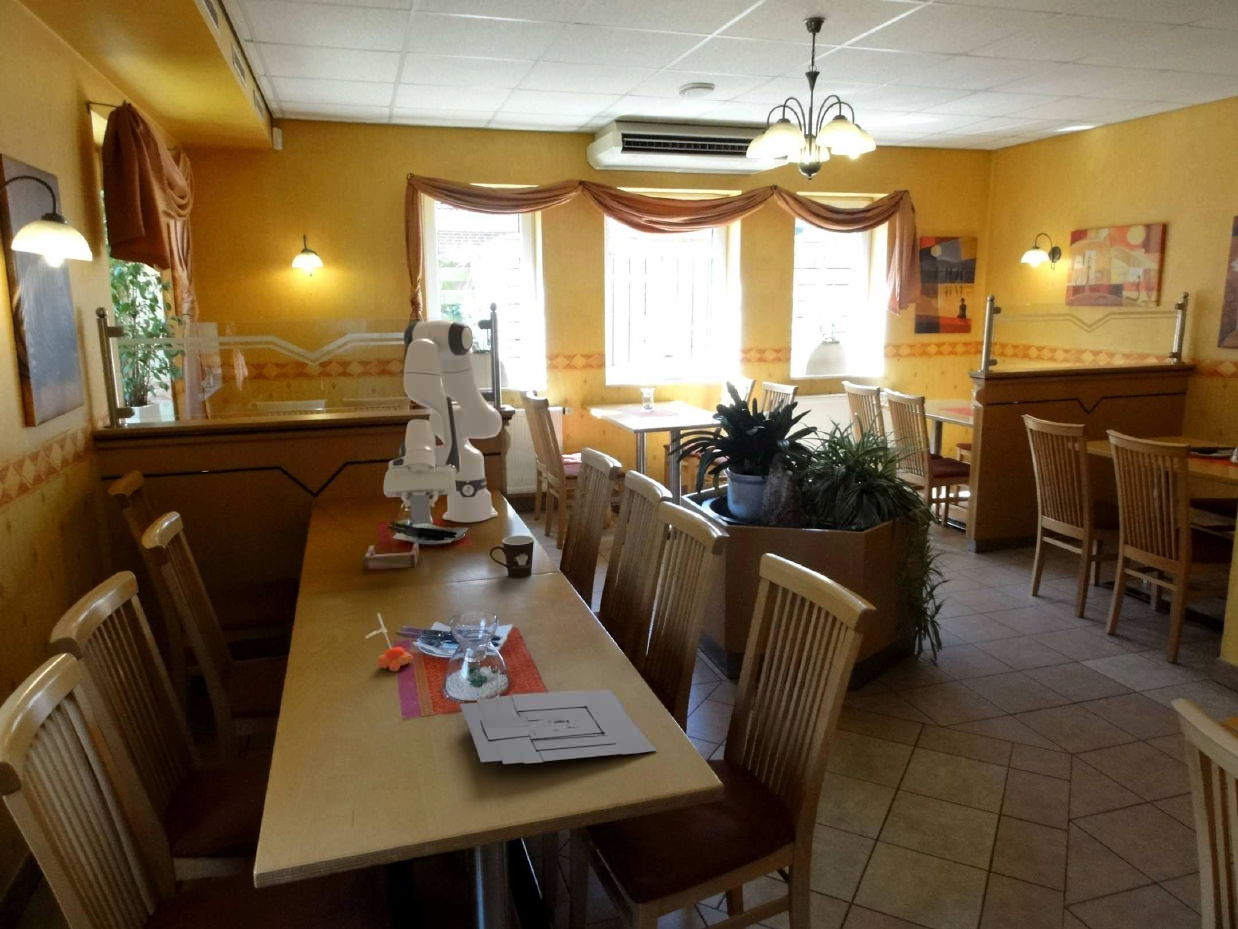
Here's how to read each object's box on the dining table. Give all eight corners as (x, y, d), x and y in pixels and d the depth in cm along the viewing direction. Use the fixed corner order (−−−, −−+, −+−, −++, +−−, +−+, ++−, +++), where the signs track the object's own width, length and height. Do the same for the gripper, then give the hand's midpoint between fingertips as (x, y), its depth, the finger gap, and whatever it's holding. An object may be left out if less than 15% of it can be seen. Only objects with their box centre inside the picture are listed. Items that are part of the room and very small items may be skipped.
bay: (371, 556, 250) (370, 545, 249) (419, 554, 252) (418, 542, 251) (364, 569, 238) (364, 558, 238) (415, 566, 240) (414, 555, 239)
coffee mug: (538, 569, 236) (536, 535, 234) (532, 580, 228) (530, 545, 226) (497, 568, 238) (496, 535, 235) (490, 579, 229) (488, 544, 227)
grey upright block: (412, 521, 240) (410, 491, 238) (430, 520, 241) (428, 490, 239) (411, 524, 237) (409, 494, 235) (429, 523, 238) (428, 493, 236)
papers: (456, 713, 155) (458, 694, 155) (608, 702, 166) (610, 684, 165) (482, 784, 133) (483, 763, 132) (656, 766, 144) (658, 746, 143)
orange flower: (365, 666, 178) (360, 613, 175) (410, 657, 182) (406, 605, 179) (370, 678, 172) (365, 623, 170) (416, 668, 176) (412, 614, 174)
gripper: (457, 470, 249) (457, 510, 242) (386, 473, 246) (384, 514, 238) (455, 458, 244) (456, 499, 236) (383, 461, 241) (381, 503, 233)
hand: (419, 506), depth 237 cm, fingers closed on grey upright block, 5 cm apart
